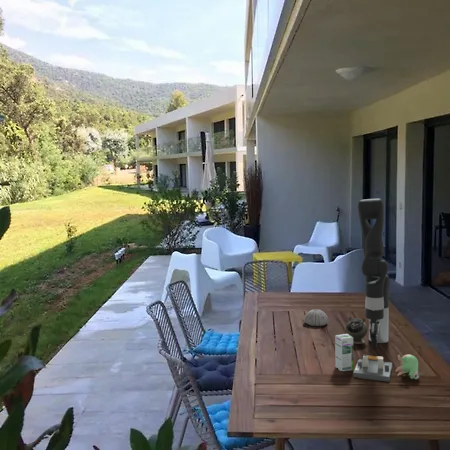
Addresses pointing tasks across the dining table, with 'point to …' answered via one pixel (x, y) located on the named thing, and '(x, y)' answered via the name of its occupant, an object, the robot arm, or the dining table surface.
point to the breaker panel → (373, 370)
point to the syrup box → (344, 352)
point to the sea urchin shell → (316, 318)
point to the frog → (408, 366)
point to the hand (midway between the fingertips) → (374, 346)
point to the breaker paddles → (380, 359)
